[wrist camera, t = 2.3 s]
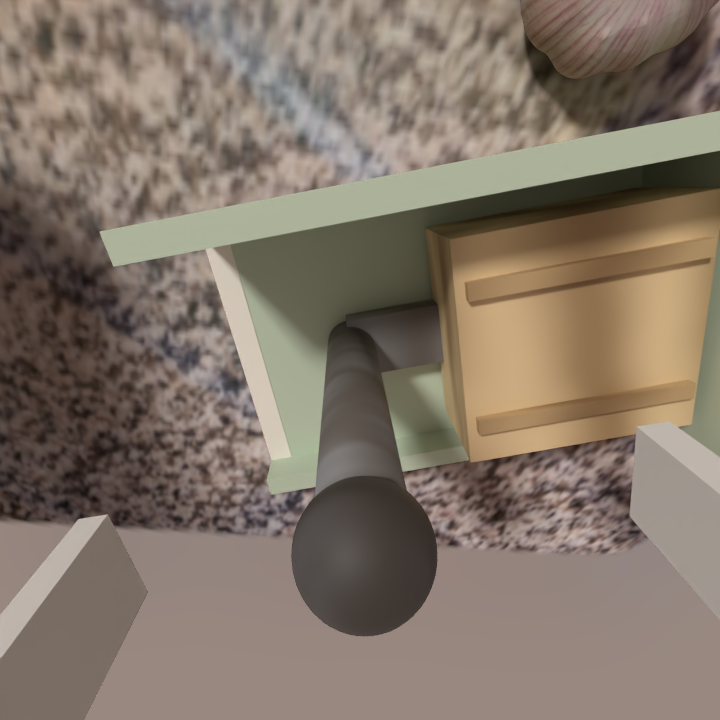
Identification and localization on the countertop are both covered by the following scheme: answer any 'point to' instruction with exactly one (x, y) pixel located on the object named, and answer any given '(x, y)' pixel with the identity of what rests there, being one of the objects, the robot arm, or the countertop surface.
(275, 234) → the bay
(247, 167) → the countertop surface
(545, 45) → the garlic bulb
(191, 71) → the countertop surface
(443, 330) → the tan boxy piece
